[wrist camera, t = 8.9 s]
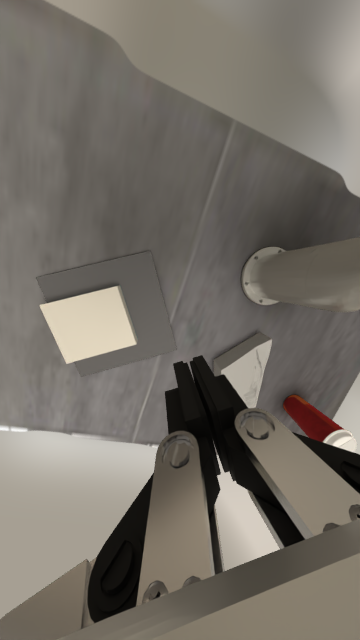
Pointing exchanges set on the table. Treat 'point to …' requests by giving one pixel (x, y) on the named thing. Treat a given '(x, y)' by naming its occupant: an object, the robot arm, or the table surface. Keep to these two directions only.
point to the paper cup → (318, 424)
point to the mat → (140, 299)
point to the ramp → (245, 366)
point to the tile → (90, 324)
